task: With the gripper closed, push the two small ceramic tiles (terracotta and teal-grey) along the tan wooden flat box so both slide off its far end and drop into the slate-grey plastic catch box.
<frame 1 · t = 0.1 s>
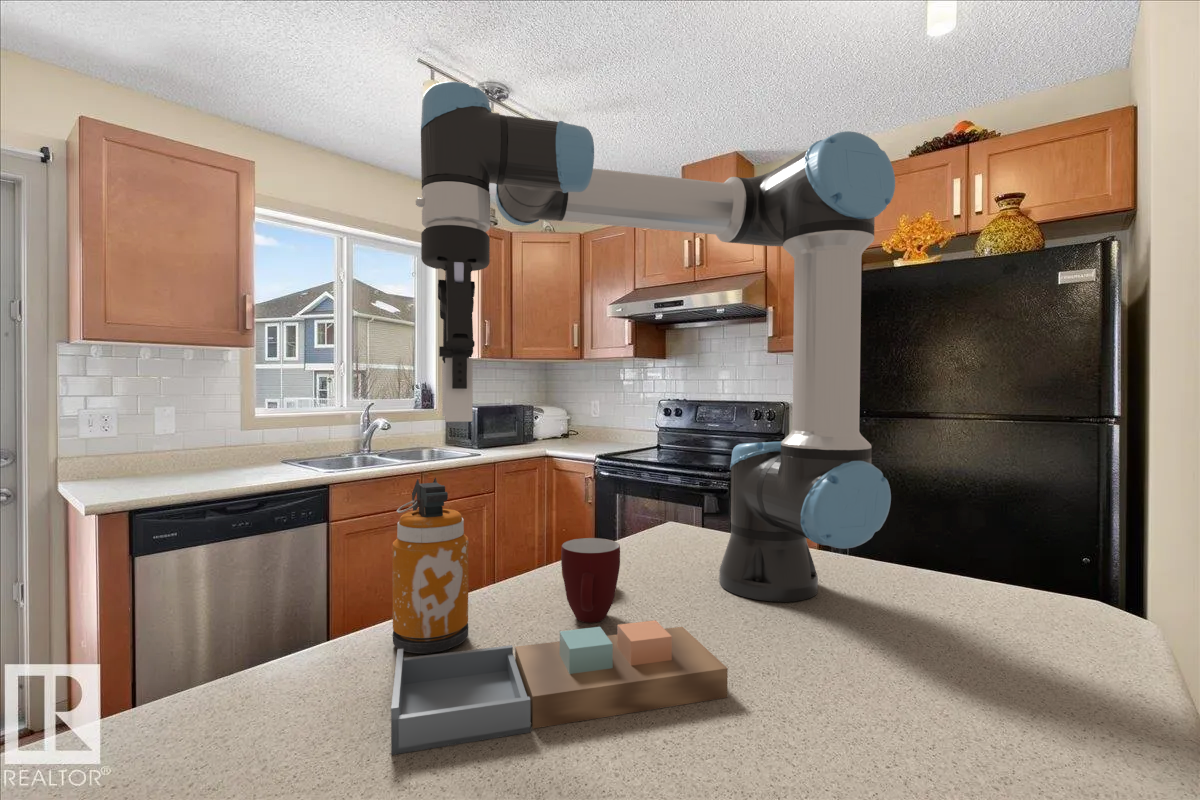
hand: (456, 418, 67), 28 cm above the countertop, fingers open, 13 cm apart
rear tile: (643, 653, 63), point 3 cm above the countertop, touching tan wooden flat box
onion: (587, 590, 93), on the countertop
tan wooden flat box: (617, 685, 63), on the countertop
canister: (429, 640, 74), on the countertop
catch box: (459, 708, 58), on the countertop
mug: (590, 622, 80), on the countertop
front tile: (585, 661, 62), point 3 cm above the countertop, touching tan wooden flat box
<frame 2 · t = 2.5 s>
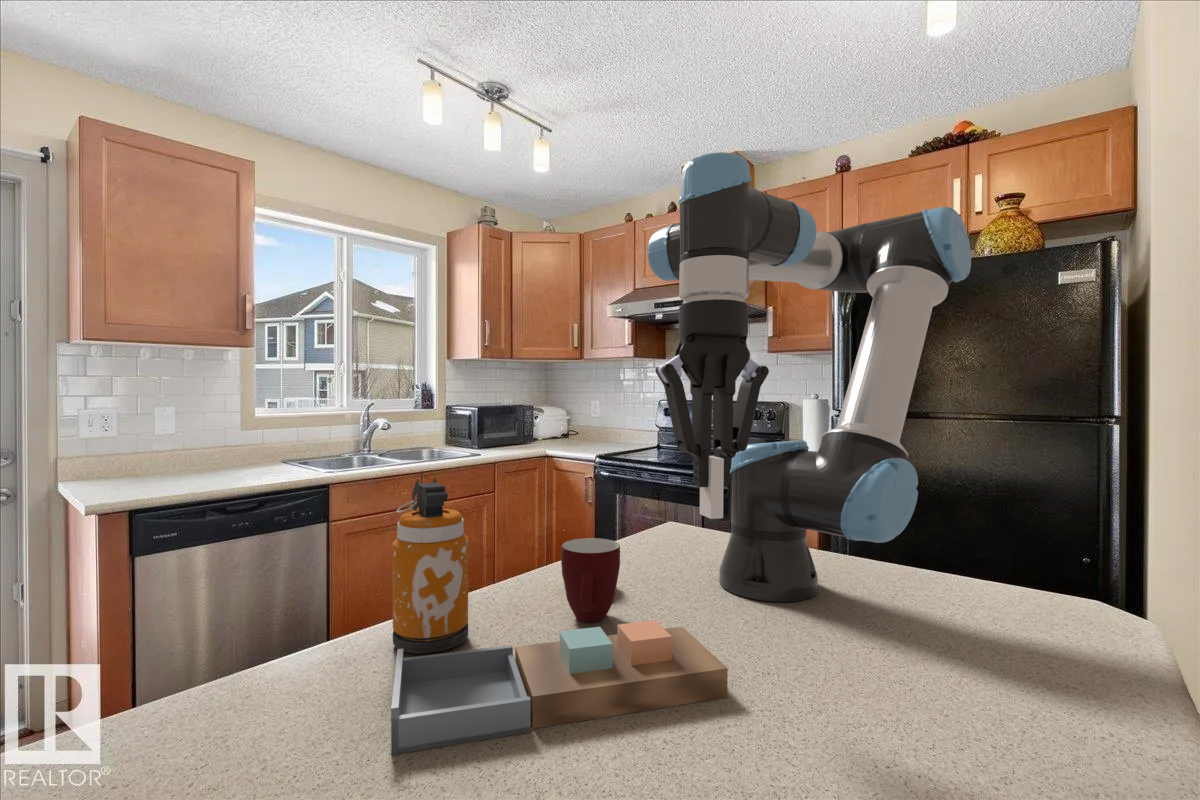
hand: (711, 515, 65), 17 cm above the countertop, fingers closed
nothing on the countertop moved.
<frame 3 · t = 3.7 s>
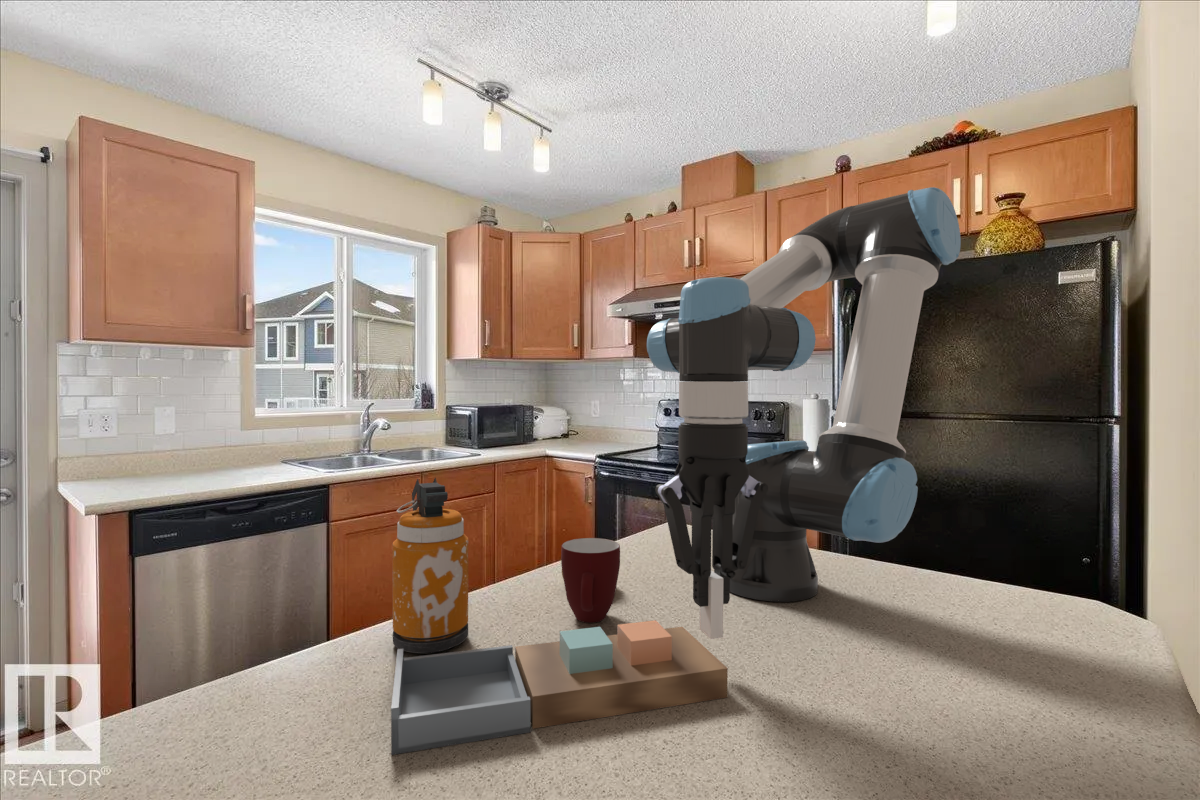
hand: (711, 633, 66), 4 cm above the countertop, fingers closed
nothing on the countertop moved.
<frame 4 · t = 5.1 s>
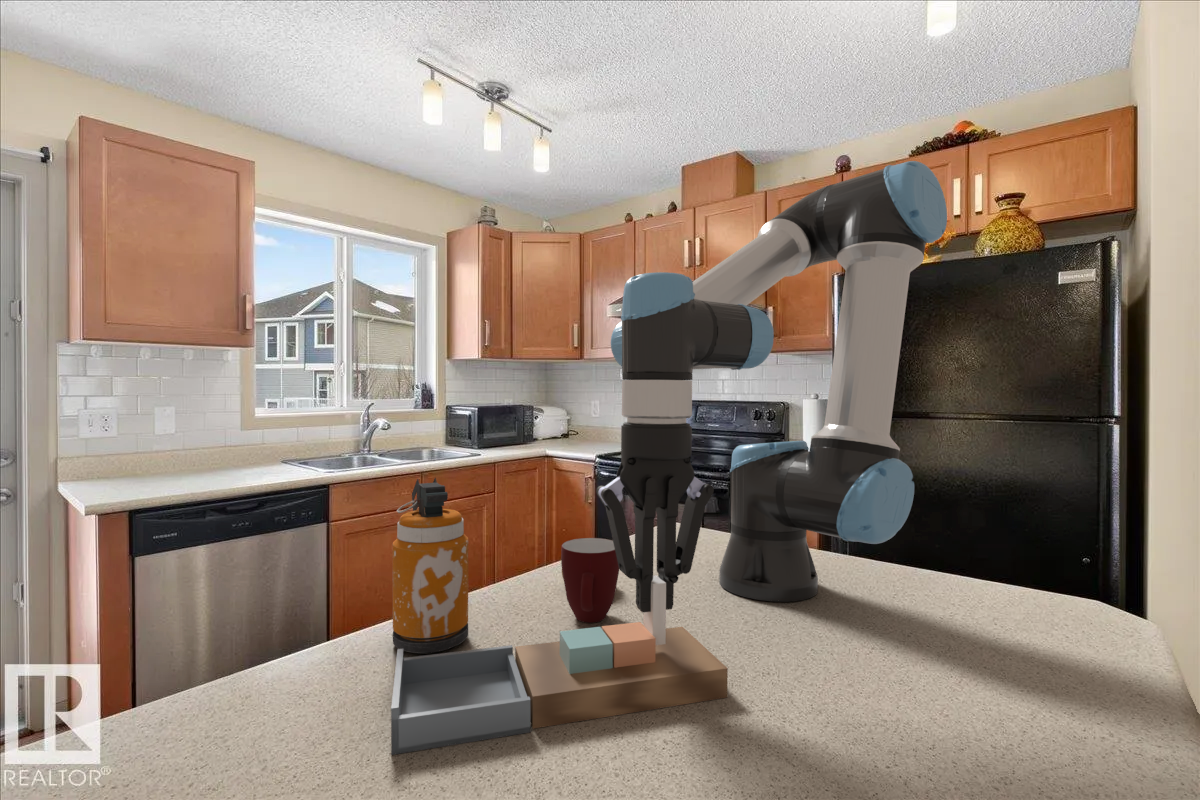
hand: (654, 639, 64), 4 cm above the countertop, fingers closed
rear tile: (627, 655, 63), point 3 cm above the countertop
everything else where it was.
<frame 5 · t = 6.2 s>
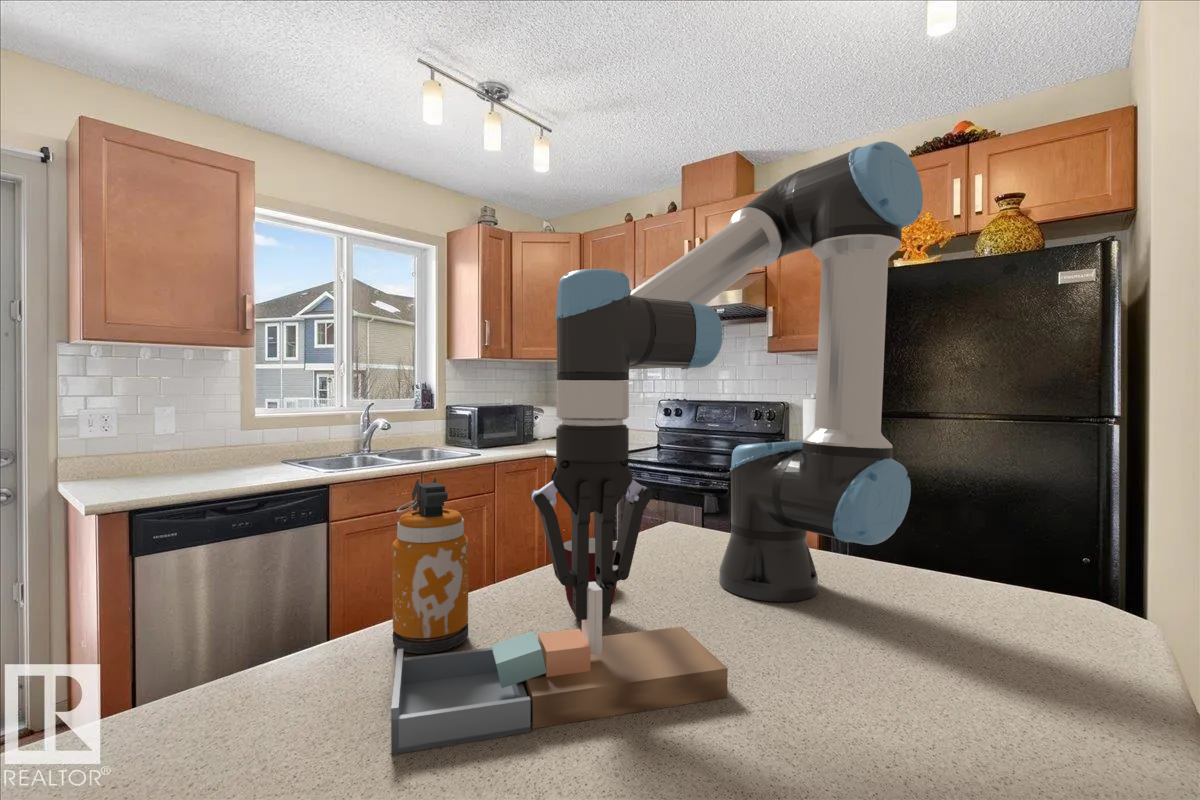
hand: (591, 648, 62), 4 cm above the countertop, fingers closed
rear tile: (563, 663, 61), point 3 cm above the countertop, touching front tile, gripper
front tile: (520, 670, 60), point 3 cm above the countertop, tilted 12°, touching tan wooden flat box, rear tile
everything else where it was.
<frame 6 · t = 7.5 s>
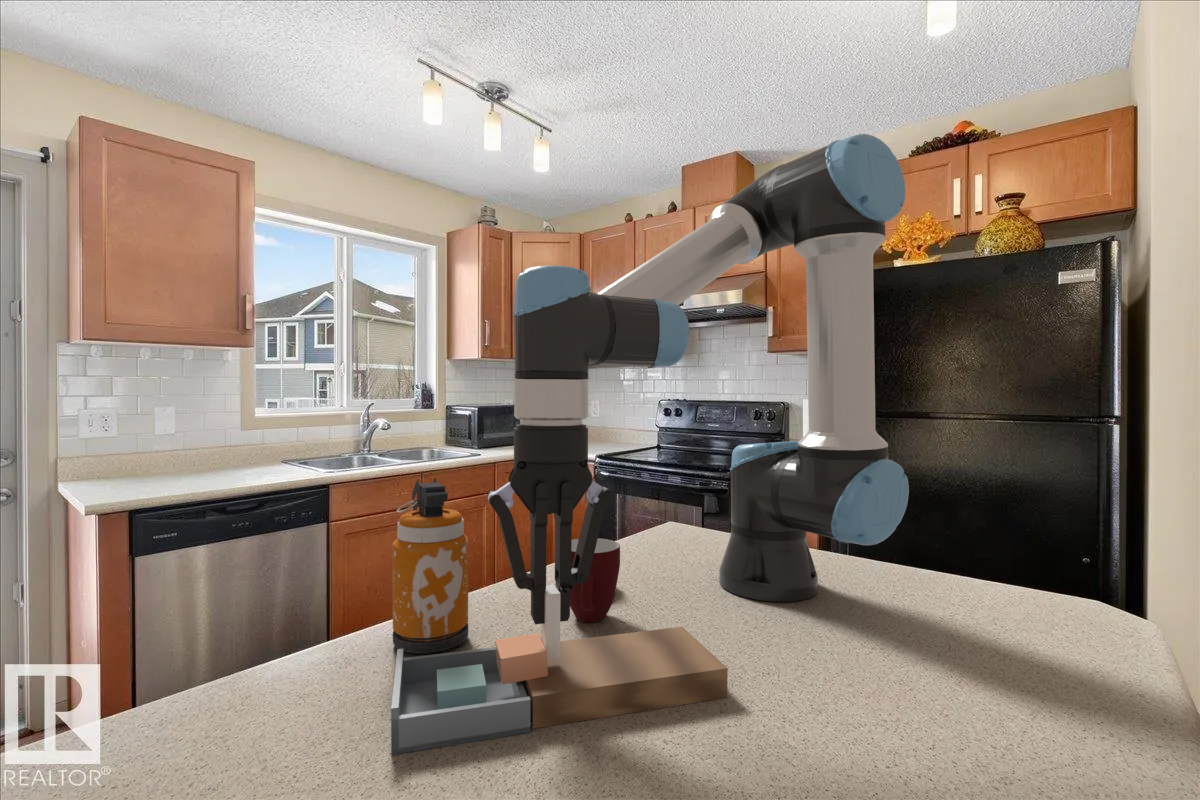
hand: (550, 652, 60), 4 cm above the countertop, fingers closed
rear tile: (521, 669, 60), point 3 cm above the countertop, touching tan wooden flat box
front tile: (460, 677, 58), point 3 cm above the countertop, tilted 180°, touching catch box
everything else where it was.
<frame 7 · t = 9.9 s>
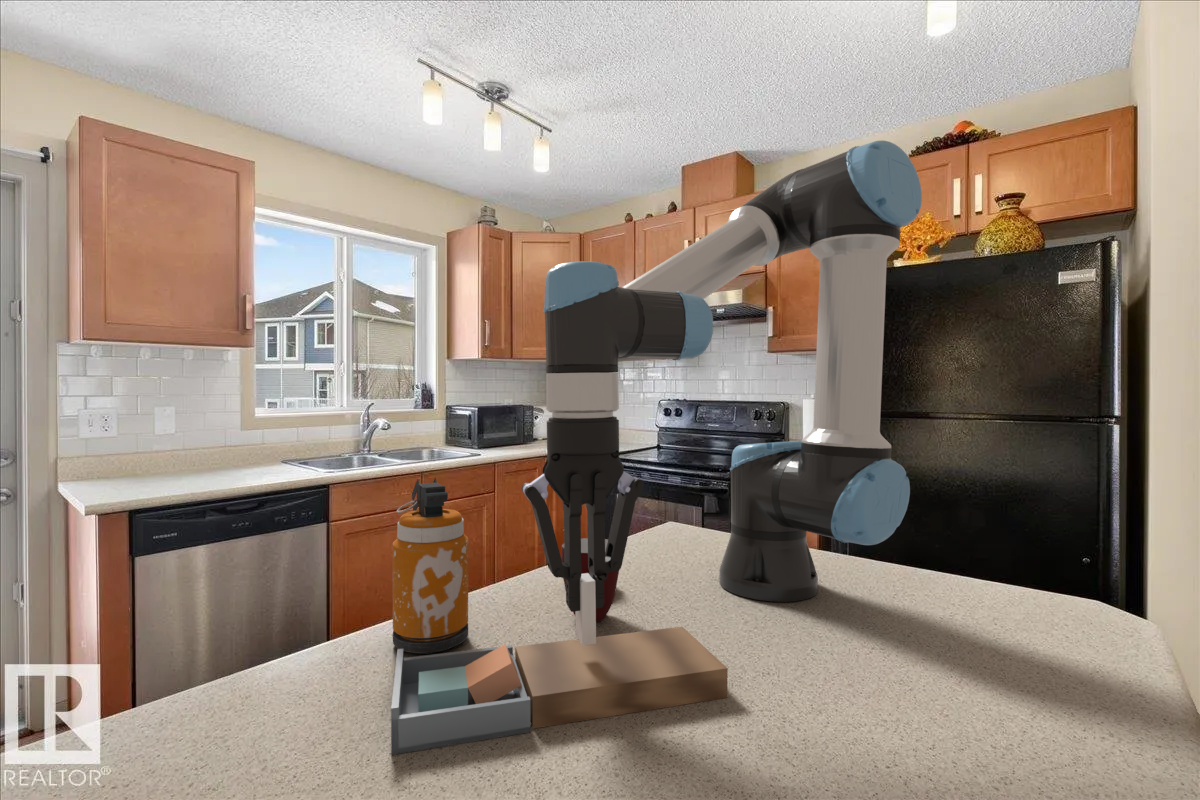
hand: (585, 638, 62), 5 cm above the countertop, fingers closed
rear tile: (497, 686, 59), point 2 cm above the countertop, tilted 24°, touching catch box, front tile
front tile: (442, 679, 58), point 3 cm above the countertop, tilted 180°, touching catch box, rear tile
everything else where it was.
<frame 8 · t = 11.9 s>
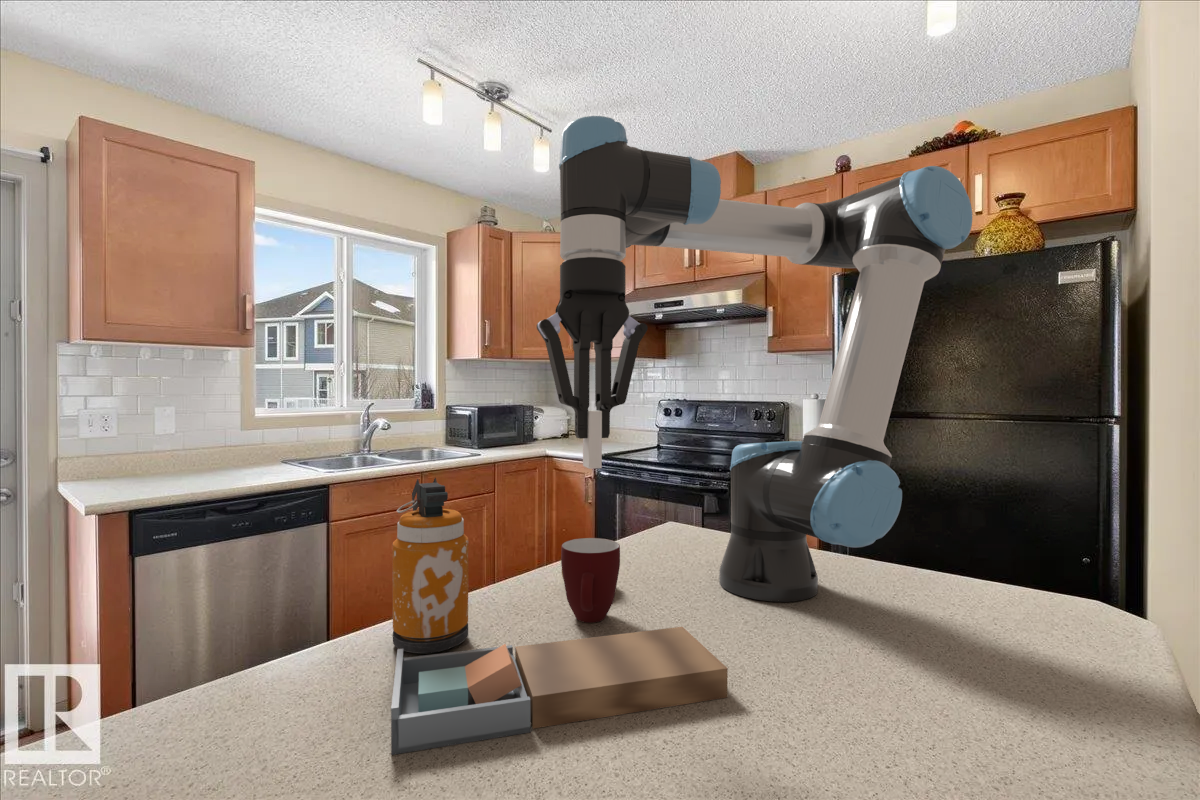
hand: (592, 466, 68), 22 cm above the countertop, fingers closed
nothing on the countertop moved.
at the end: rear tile inside the target area on the catch box (3.7 cm from its centre), point 1.7 cm above the catch box's base; front tile inside the target area on the catch box (1.6 cm from its centre), point 3.0 cm above the catch box's base; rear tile touching catch box, front tile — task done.
